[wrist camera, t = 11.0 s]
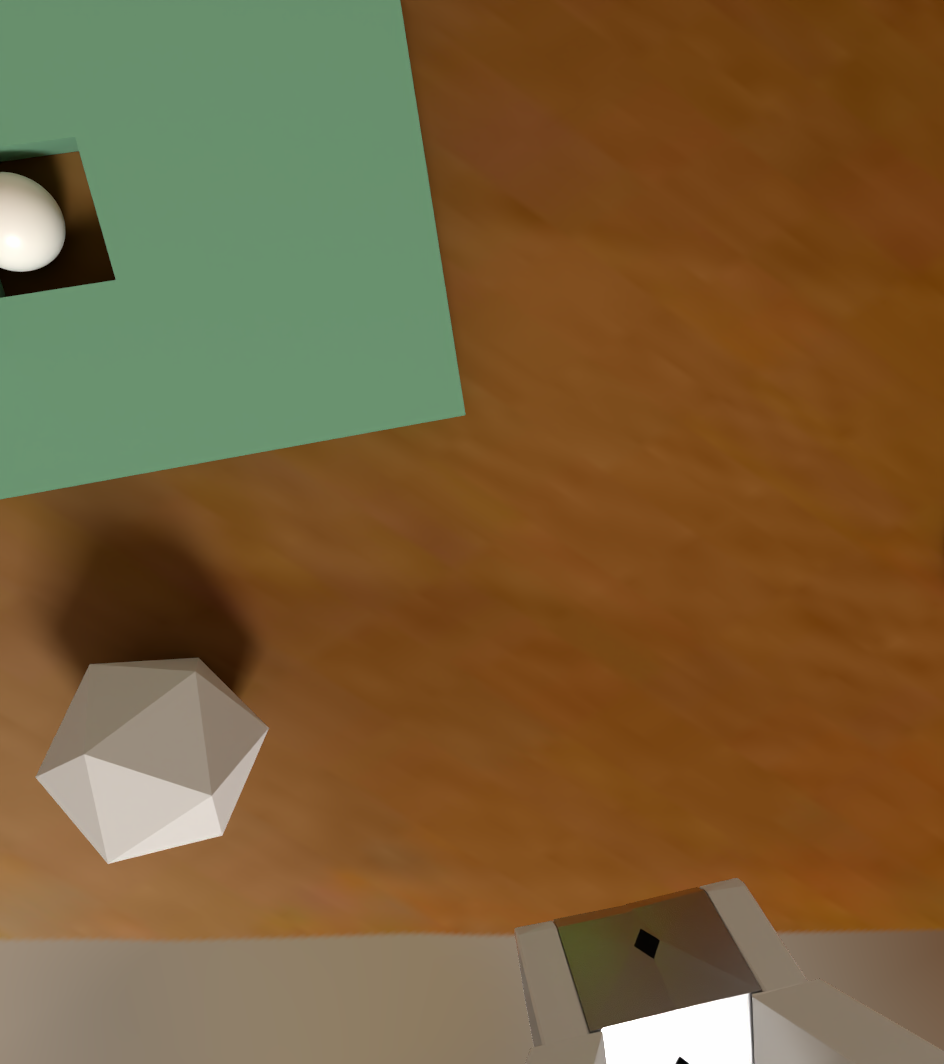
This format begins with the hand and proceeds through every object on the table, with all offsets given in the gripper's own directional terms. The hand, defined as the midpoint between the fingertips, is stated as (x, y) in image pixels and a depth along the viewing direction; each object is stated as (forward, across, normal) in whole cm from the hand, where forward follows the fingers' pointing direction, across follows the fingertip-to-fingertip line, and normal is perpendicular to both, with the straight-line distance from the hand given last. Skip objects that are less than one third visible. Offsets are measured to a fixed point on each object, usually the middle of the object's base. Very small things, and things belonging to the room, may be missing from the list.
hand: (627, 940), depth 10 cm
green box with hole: (+28, +8, -12) cm, 32 cm away
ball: (+26, +14, -12) cm, 32 cm away
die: (+28, +14, +10) cm, 33 cm away
